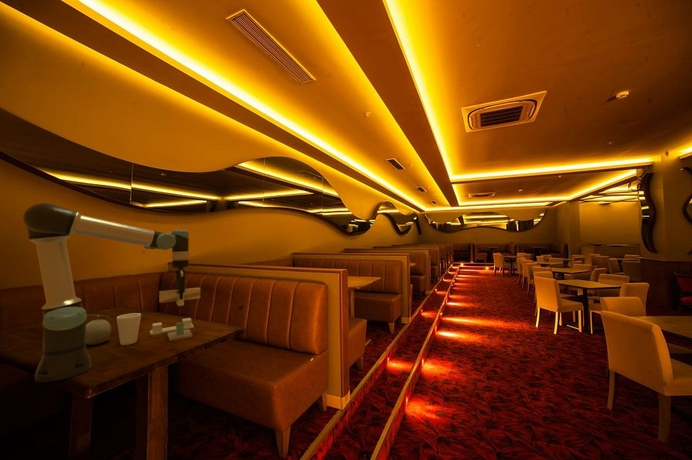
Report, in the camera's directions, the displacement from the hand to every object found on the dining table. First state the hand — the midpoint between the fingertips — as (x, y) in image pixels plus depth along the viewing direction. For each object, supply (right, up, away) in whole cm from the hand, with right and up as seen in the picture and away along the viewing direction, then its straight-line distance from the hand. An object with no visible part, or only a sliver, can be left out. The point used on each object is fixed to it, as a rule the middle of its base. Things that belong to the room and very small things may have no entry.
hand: (180, 304), depth 146 cm
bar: (0, +2, 0) cm, 2 cm away
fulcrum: (0, -16, 0) cm, 16 cm away
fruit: (-34, -17, -10) cm, 39 cm away
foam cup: (-20, -16, -9) cm, 27 cm away
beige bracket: (-10, -17, +9) cm, 22 cm away
